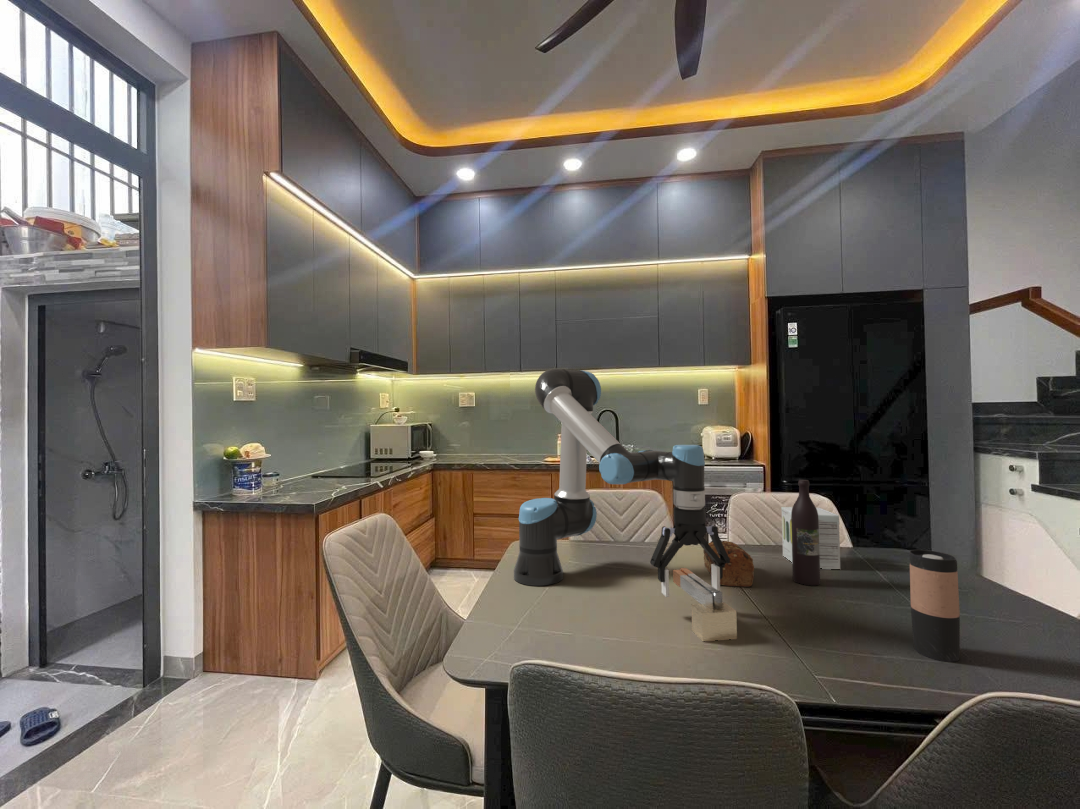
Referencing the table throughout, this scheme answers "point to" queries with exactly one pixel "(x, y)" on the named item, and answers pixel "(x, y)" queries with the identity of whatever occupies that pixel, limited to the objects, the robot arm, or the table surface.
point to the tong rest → (707, 612)
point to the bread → (733, 565)
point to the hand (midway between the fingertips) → (690, 593)
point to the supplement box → (827, 537)
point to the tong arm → (715, 593)
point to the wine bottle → (805, 538)
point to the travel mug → (935, 604)
